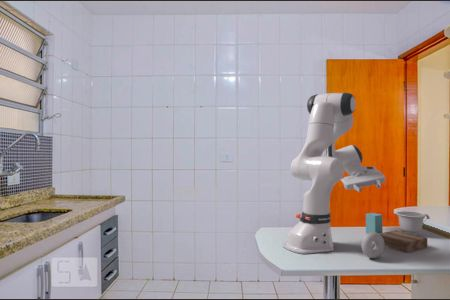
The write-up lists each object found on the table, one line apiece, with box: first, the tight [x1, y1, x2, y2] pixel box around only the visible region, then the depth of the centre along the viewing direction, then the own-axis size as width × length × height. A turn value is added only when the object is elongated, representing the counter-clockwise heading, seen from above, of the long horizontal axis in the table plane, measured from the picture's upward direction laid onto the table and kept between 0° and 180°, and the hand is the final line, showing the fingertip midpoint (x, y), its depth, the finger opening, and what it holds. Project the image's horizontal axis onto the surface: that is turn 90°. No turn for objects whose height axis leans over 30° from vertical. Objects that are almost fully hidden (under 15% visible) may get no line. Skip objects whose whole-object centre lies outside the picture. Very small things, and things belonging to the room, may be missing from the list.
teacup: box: [396, 211, 431, 236], centre depth 145 cm, size 12×15×10 cm
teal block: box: [365, 212, 384, 235], centre depth 140 cm, size 5×5×11 cm
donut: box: [361, 232, 386, 259], centre depth 113 cm, size 10×3×10 cm, turn 109°
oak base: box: [379, 230, 428, 253], centre depth 128 cm, size 14×14×4 cm
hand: (369, 189), depth 148 cm, fingers open, 8 cm apart
